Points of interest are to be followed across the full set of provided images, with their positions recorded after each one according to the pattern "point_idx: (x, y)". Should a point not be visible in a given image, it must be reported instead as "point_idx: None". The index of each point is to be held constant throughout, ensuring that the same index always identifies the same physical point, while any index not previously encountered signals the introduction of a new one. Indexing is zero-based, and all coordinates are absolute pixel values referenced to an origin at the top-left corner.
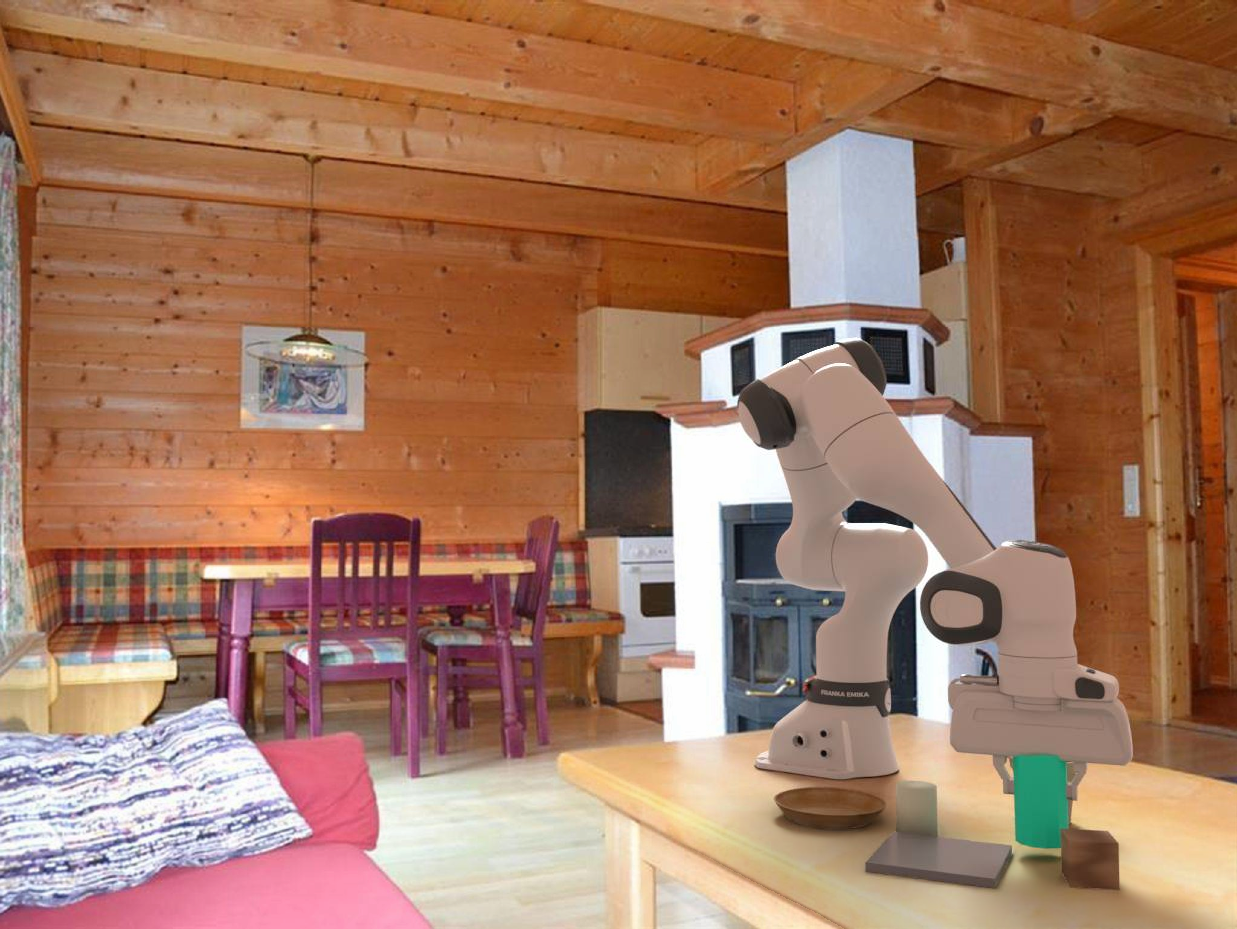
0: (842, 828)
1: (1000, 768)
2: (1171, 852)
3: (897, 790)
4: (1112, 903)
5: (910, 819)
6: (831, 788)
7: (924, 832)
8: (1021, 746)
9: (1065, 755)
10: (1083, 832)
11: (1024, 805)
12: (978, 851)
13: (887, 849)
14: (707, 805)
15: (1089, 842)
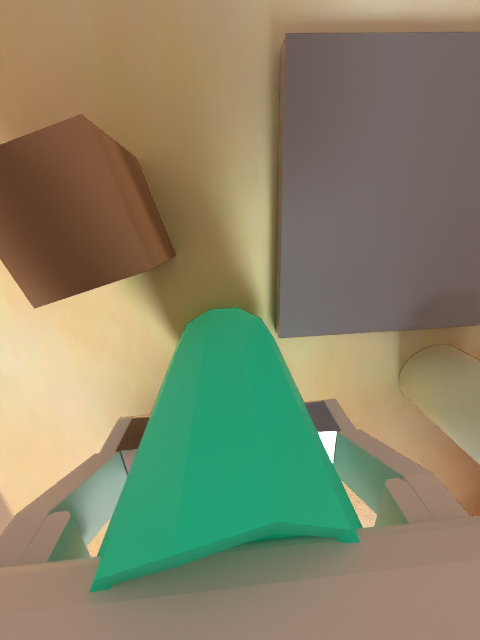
0: None
1: (389, 463)
2: (58, 448)
3: None
4: (18, 62)
5: (474, 360)
6: None
7: (428, 356)
8: (362, 634)
9: (38, 606)
10: (82, 256)
11: (265, 354)
12: (335, 266)
13: None
14: None
15: (22, 136)
